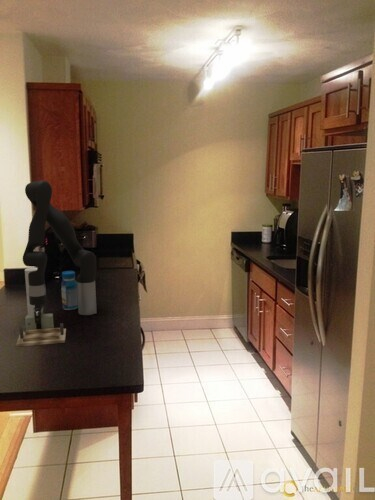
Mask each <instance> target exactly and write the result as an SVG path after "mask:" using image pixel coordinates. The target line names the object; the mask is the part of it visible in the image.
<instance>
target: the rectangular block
mask: <svg viewBox="0 0 375 500" xmlns="http://www.w3.org/2000/svg"><path fill="white" fill-rule="evenodd" d="M40 316H41V315H40ZM24 320H25V331H26V330H35V329H36V323H35V318H34V315H28V314H26V315H25V318H24ZM37 320H39V319H37ZM41 321H42V322H41V326H42V329H48V328H55V327H54V313H43V314H42V318H41Z"/></svg>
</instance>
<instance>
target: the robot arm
mask: <svg viewBox="0 0 375 500" xmlns="http://www.w3.org/2000/svg"><path fill="white" fill-rule="evenodd" d="M24 193H25V195H26V197H27V200H29V202H31V204H32V205H33V206H34V207H35V212H34V214H33V217H32V219H31V221H30V223H29V227H28V238H27V244H26V246H25V249H24V253H23V256H22V262H23V264H24V266H26V267H30V268H34V267H36V268H38V269H37V271H32V272H30V273H29V274H28V281H29V303H30V304H31V305H34V306H35V307H34V318H35V323H36V329H42V326H41V322H42V321H41V318H42V314H44V306H43V305H45V304H46V303H47V289H46V283H45V282H46V281H45V271H46V267H47V263H48V255H47V254H46V253H45V251H38V250H37V251H35V249H36V248H38V247H39V248H40V247H43V245H44V244H45V235H46V225H49V227H50V229H51V230H52V231H53V233H54V235H55V236H56V237H57V239H58V240H59V241H60V243H61V244H62V245H63V247H64V248H65V250H66V251H67V253H68V254H69V256H70V258H71V260H72V262H73V263H74V265H75V266H76V267H78V268H80V269H79V270H80V271H79V272H80V273H79V274H78V275H76V282H77V297H78V308H77V309H78V311H77V313H78V315H80V316H81V315H82V316H92V315H95V314H98V313H97V296H96V276H97V257H96V255H95V253H94V252H92V251H89V250H86V249H84V248H83V246H82V245H81V244H80V243H79V240H78V239H77V235H76V230H75V228H74V226H73V224H72V223H71V221H70V220H69V218H68V217H67V215H65V214H64V213H63V212H62V211H60V210H59V209H57V208H56V207H54V206H53V205H52V204H51V200H52V196H53V188H52V185H51V184H50V183H49V182H48V181H46V180H36V181H32V182H30V183H27V184H26V185H25V187H24ZM46 223H47V224H46ZM40 315H41V316H40ZM37 319H39V320H37Z"/></svg>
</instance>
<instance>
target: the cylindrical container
mask: <svg viewBox="0 0 375 500" xmlns="http://www.w3.org/2000/svg"><path fill="white" fill-rule="evenodd" d="M37 269H38V267H27V268H25V269H24V279H25V289H26V290H25V291H26V292H25V293H26V304H27V305H26V306H27V315H34V307H35V306H34V305H31V304H30V303H29V281H28V274H29V273H30V272H32V271H37Z"/></svg>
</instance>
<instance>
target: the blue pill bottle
mask: <svg viewBox="0 0 375 500" xmlns="http://www.w3.org/2000/svg"><path fill="white" fill-rule="evenodd" d="M61 278H62V281H61V284H60V286H61V290H60V292H61V303H62V304H61V305H62V307H61V308H62V309H63V310H65V311H72V310H76V309H78V293H77V280H76V272H75V271H74V270H66V271H62V272H61Z"/></svg>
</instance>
